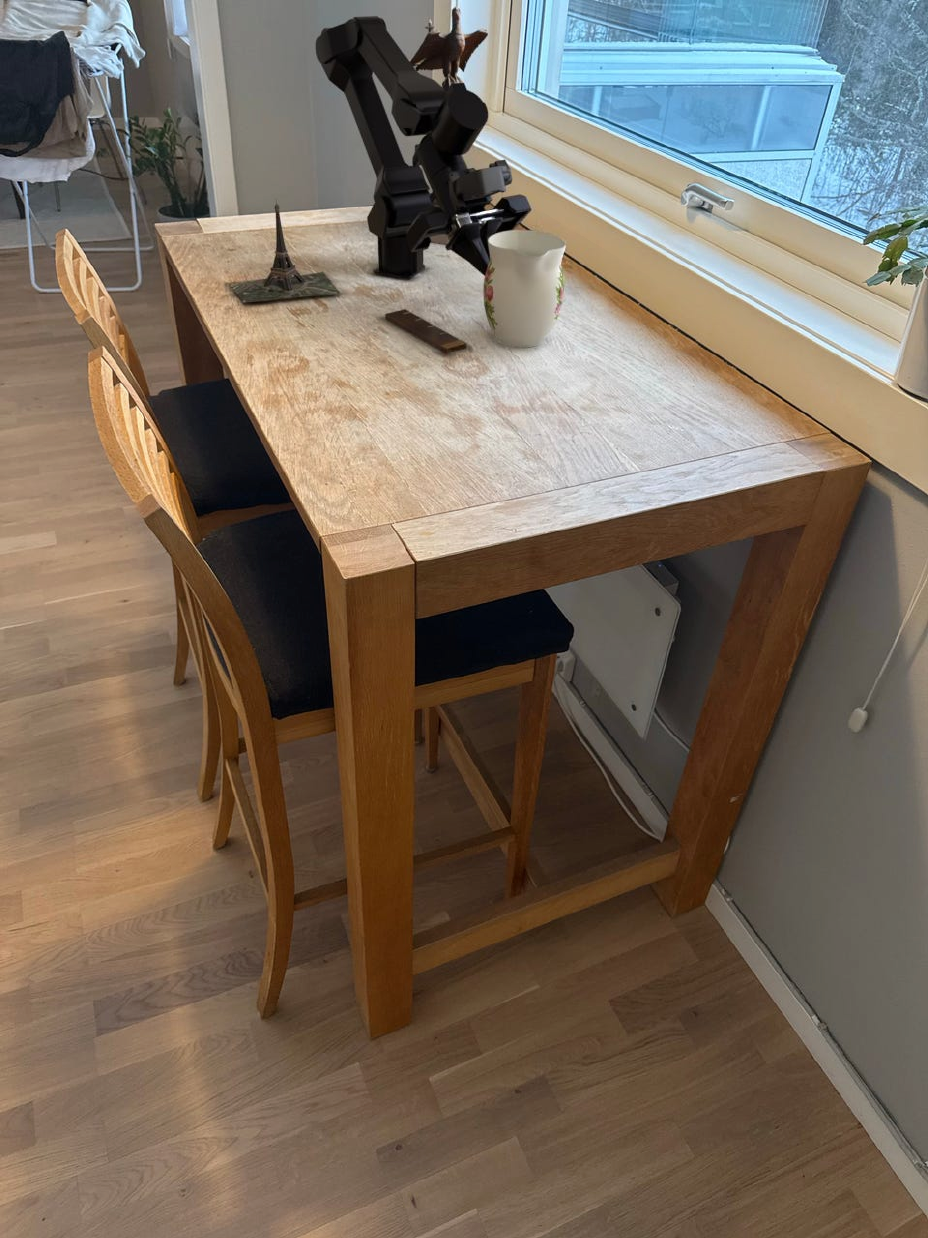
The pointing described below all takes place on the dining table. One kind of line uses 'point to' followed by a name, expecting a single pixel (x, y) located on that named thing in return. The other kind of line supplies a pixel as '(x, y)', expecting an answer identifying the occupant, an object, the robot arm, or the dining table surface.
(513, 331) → the pitcher
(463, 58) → the bird statue
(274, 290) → the eiffel tower figurine
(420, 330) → the ruler
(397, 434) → the dining table surface
